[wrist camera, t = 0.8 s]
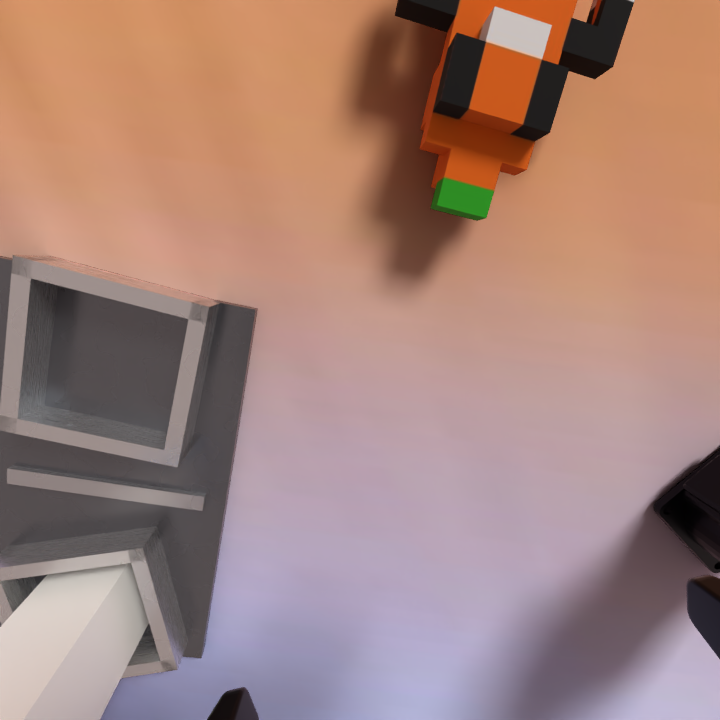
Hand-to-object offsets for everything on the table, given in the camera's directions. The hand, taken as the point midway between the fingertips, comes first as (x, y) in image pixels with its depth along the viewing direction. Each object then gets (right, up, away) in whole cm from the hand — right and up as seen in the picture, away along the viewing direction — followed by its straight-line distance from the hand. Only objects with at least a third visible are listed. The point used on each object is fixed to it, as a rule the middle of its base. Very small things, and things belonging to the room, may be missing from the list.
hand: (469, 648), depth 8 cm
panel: (-14, 0, +12) cm, 19 cm away
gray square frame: (-16, -7, +13) cm, 22 cm away
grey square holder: (-13, +6, +10) cm, 18 cm away
